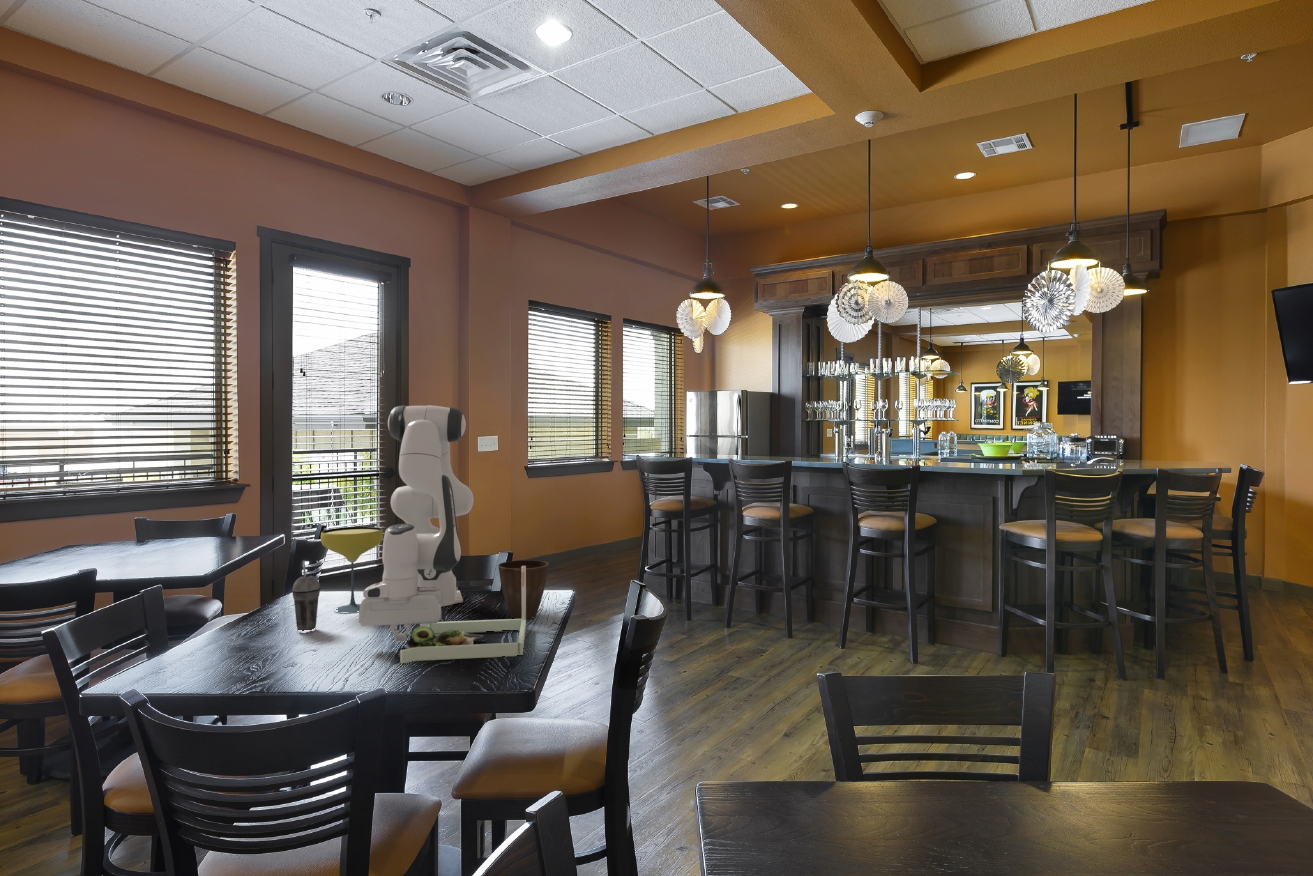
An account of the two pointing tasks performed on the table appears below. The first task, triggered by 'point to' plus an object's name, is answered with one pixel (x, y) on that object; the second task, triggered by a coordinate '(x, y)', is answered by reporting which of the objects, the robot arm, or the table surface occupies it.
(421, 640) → the avocado toast plate
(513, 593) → the plant pot
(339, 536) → the cocktail glass
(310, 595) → the beverage cup
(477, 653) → the corral
